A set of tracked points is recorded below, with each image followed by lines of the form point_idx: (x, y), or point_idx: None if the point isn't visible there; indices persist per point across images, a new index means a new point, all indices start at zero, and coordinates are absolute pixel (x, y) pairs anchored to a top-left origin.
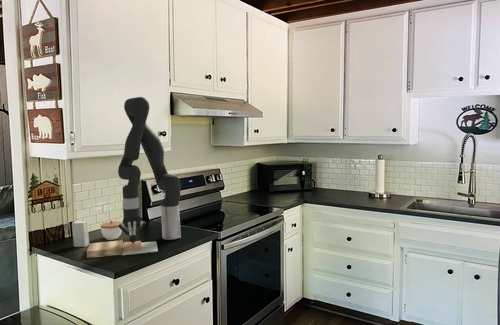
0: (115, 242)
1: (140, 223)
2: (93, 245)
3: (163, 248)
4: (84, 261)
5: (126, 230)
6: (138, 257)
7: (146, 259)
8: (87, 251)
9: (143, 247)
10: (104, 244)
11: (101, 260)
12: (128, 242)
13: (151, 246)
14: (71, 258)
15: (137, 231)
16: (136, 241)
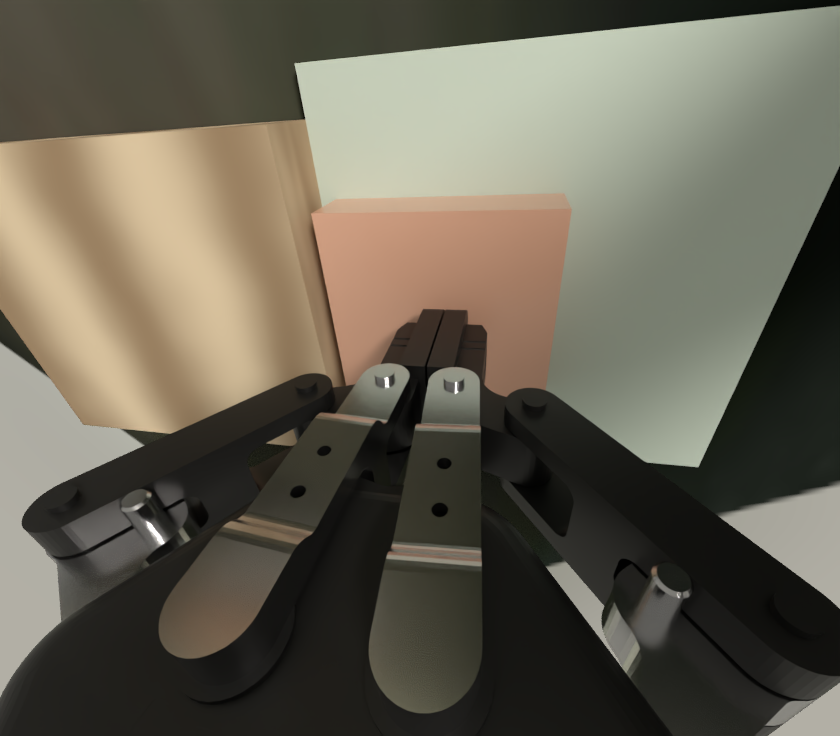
0: (203, 226)
1: (626, 628)
2: (6, 266)
3: (805, 396)
4: (151, 441)
5: (288, 427)
6: (499, 509)
7: (551, 556)
8: (88, 423)
9: (576, 314)
10: (107, 269)
11: (252, 464)
12: (379, 245)
13: (687, 310)
14: (19, 356)
15: (510, 494)
16: (495, 230)
